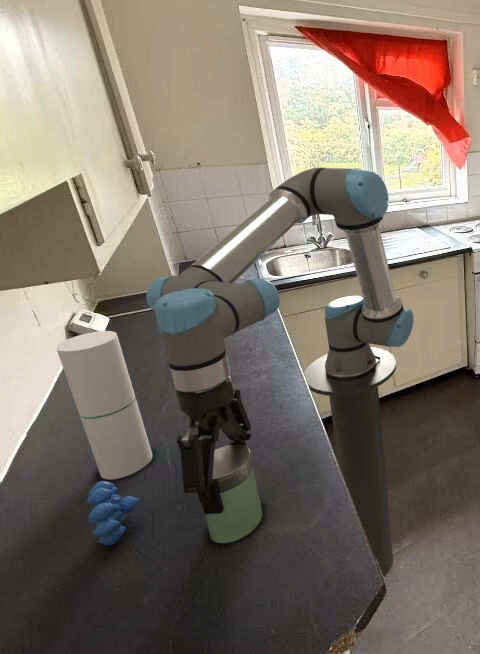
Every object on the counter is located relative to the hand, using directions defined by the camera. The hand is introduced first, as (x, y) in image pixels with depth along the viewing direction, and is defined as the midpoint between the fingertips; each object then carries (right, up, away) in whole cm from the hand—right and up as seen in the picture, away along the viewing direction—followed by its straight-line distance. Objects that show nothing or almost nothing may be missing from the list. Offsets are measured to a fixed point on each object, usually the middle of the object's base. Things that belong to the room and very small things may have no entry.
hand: (229, 490), depth 76 cm
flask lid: (0, +6, -2) cm, 6 cm away
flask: (0, -7, +2) cm, 8 cm away
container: (-33, -2, +16) cm, 36 cm away
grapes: (-19, -8, -1) cm, 20 cm away
